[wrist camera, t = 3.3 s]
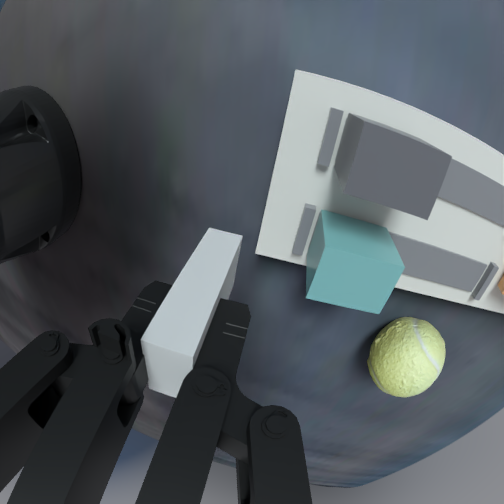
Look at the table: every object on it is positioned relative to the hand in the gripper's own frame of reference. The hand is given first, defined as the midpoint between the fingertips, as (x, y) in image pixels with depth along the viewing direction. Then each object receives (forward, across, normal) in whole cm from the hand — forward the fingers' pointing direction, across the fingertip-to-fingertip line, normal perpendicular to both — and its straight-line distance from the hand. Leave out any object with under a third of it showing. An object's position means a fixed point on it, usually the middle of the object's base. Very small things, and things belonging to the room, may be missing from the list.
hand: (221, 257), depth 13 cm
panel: (+7, +16, +3) cm, 18 cm away
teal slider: (+4, +6, 0) cm, 8 cm away
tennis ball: (+7, +15, -8) cm, 18 cm away
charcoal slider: (+4, +6, +6) cm, 9 cm away
